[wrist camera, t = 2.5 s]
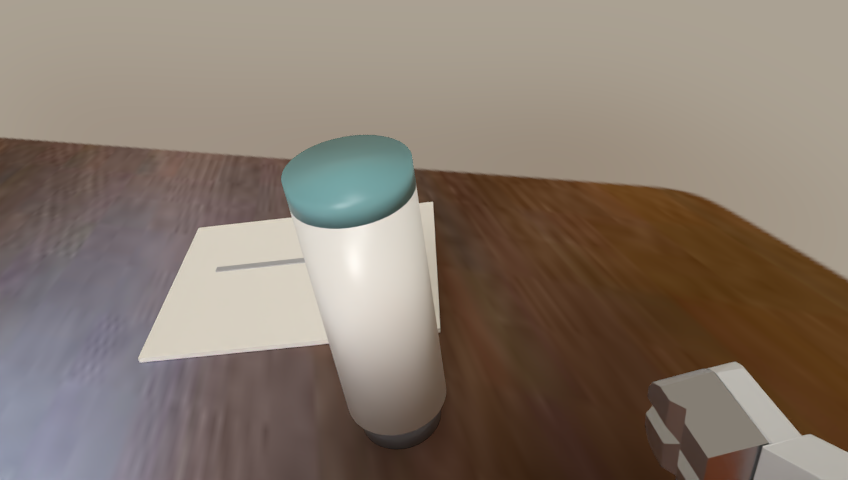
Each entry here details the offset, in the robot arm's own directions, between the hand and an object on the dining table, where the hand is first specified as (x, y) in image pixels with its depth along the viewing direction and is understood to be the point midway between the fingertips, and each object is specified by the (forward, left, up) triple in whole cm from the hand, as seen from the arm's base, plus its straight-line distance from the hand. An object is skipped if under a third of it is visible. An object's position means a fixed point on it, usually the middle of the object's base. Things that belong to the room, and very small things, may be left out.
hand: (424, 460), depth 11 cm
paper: (-8, +23, -14) cm, 28 cm away
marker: (-2, +12, -14) cm, 19 cm away
